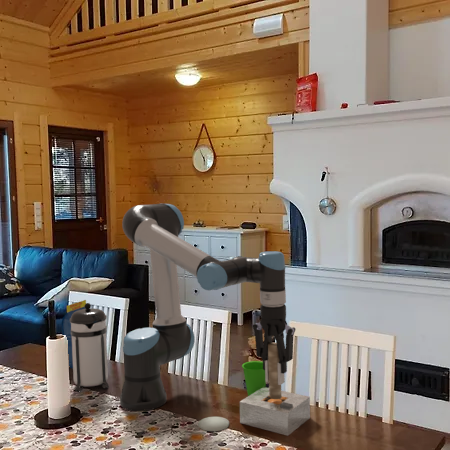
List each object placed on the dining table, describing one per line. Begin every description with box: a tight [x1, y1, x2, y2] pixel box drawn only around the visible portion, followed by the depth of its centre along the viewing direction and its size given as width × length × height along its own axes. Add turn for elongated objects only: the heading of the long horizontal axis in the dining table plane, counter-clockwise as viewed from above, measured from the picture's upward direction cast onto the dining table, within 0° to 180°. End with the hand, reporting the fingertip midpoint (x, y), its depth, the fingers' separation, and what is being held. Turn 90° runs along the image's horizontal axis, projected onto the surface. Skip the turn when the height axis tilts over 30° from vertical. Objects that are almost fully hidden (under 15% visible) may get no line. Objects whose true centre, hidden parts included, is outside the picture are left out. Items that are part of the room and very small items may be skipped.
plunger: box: [268, 399, 282, 405], centre depth 165 cm, size 4×4×2 cm
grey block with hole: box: [239, 386, 311, 437], centre depth 165 cm, size 16×14×7 cm
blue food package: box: [61, 299, 87, 369], centre depth 223 cm, size 6×12×25 cm, turn 156°
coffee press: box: [70, 302, 109, 393], centre depth 198 cm, size 17×16×30 cm
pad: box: [198, 416, 230, 432], centre depth 163 cm, size 9×9×1 cm
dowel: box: [268, 342, 282, 399], centre depth 164 cm, size 4×4×16 cm
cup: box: [241, 360, 267, 397], centre depth 183 cm, size 9×9×11 cm
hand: (275, 382), depth 164 cm, fingers closed on dowel, 3 cm apart
